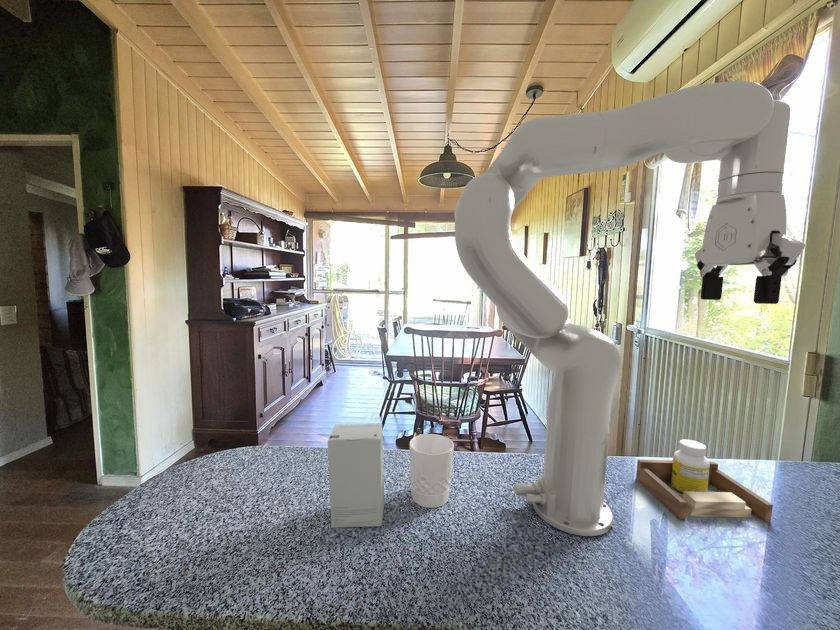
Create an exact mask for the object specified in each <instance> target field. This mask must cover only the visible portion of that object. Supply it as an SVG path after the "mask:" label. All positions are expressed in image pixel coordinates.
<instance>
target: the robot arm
mask: <svg viewBox="0 0 840 630" xmlns="http://www.w3.org/2000/svg"><path fill="white" fill-rule="evenodd" d="M791 119H792V108H791V106H790V104H789V103H788V102H786V101H784V100H779V99H778V100H776V99H774V97H773V95H772V93H771V92H770V91H769V89H767V88H766V87H765V86H763V85H762V84H760V83H758V82H754V81H748V80H731V81H730V80H728V81H722V82H711V83H705V84H698V85H693V86H689V87H685V88H682V89H678V90H674V91H672V92H671V91H670V92H668V93H665V94H661V95H658V96H655V97H652V98H649V99H644V100H641V101H637V102H634V103H632V104H628V105H625V106H623V107H620V108H615V109H608V110H600V111H599V110H597V111H593V112H590V111H589V112H582V113H581V112H580V113H571V114H561V115H560V114H559V115H552V116H543V117H537V118H531V119H529V120H526V121H525V122H523V123H521V124H520V125H519V126H518V127H517V128H516V129H515V130H514V131H513V132H512V134H511V136H510V137H509V139H508V140H507V142H506V143H505V145H504V147H503V148H502V150H501V151H500V153H499V154H498V155H497V157H496V158H495V159H494V161H493V162H492V163H491V164H490V165H489V167H488V168H487V169H486V170H485V171H484V173H481V174H479V175H476V176H475V177H473V178H471V180H470V181H468V182H467V184H465V186H464V187H463V189H462V191H461V193H460V194H459V198H458V200H457V202H456V205H455V208H454V238H455V239H454V241H455V247H456V251H457V254H458V257H459V260H460V263H461V264H462V267H463V268H464V270H465V271H466V273H467V274H468V276H469V277H470V279H472V281H473V282H474V284H476V286H477V287H478V288H479V289H480V290H481V291H482V292H483V293H484V294H485V296H486V297H487V298H488V299H489V301H491V302H492V303H493V305H494V306H496V313H497V316H498V319H499V320H500V322H501V323H502V324H503V325H504V326H505V328H507V330H508V331H509V332H510V333H511V334H512V335H513V337H515V338H516V339H517V340H518V341H519V343H521V344H522V345H523V346H524V347H525V348H526V350H528V351H529V353H531V354H532V356H534V357H535V359H537V360H538V362H540V363H541V364H542V365H543V366H544V367H545V368H547V369H548V370H550V371H551V372H552V373H553V374H554V375H553V376H554V377H553V381H552V385H551V389H550V392H549V396H548V400H547V401H548V402H547V409H546V410H547V411H546V427H545V428H546V431H545V443H544V444H545V445H544V447H545V448H544V461H543V462H544V463H543V475H537V481H533V482H532V483H520V482H518V483H516V482H515V483H514V484H513V485H514V487H513V489H514V490H513V491H514V494H515V496H519V497H520V496H521V497H523V496H524V497H525V502H526V504H532V507H533V509H534V511H535V513H536V514H537V515H538V516H539V517H540V518H541V519H542V520H543V521H544V522H546V523H547V524H549V525H550V526H552V527H554V528H555V529H557V530H559V531H562V532H565V533H567V534H571V535H575V536H582V537H596V536H601V535H603V534H606V533H607V532H609V531H610V530H611V528H612V526H613V523H614V516H613V512H612V510H611V508H610V507H609V506H608V504H607V503H606V502H605V501H604V496H605V485H606V474H607V460H608V452H609V451H608V450H609V449H608V447H609V439H610V438H609V437H610V424H611V413H612V405H613V401H614V395H615V390H616V387H617V385H618V381H619V378H620V373H621V368H622V359H621V354H620V351H619V349H618V347H617V345H616V344H615V343H614V341H613V340H612V339H611V338H610V337H609V336H607V335H606V334H604V333H602V332H601V331H598V330H596V329H593V328H590V327H586V326H583V325H579V324H576V323H574V322H572V321H571V320H570V319H569V307H568V303H567V301H566V299H565V298H564V296H563V294H561V292H560V291H559V290H558V289H557V288H556V287H555V286H554V285H553V284H552V283H551V282H550V281H549V280H548V279H547V278H546V277H545V276H544V275H543V274H542V273H541V272H540V271H539V270H538V269H537V268H536V267H535V266H534V265H533V264H532V262H530V261H529V260H528V258H527V257H526V256H525V254H524V253H523V252H522V251H521V250H520V249H519V247H518V246H517V244H516V243H515V241H514V238H513V235H512V228H511V224H512V223H511V221H512V215H513V213H514V210H515V209H516V207H518V206H519V204H520V203H521V202H522V201H523V200H524V199H525V198H526V196H527V195H528V193H530V191H531V190H532V189H533V188H534V187H535V186H536V184H538V183H539V182H540V181H541V180H542V179H544V178H550V177H551V178H552V177H561V176H569V175H570V176H571V175H578V174H579V175H580V174H589V173H599V172H608V171H613V170H616V169H621V168H624V167H627V166H630V165H632V164H636V163H638V162H640V161H643V160H645V159H648V158H650V157H654V156H655V155H658V154H661V153H663V154H664V155H665V157H666V158H667V159H669V160H670V161H672V162H675V163H679V164H695V163H696V164H697V163H702V162H710V161H719V170H718V178H717V179H718V180H717V189H716V195H715V198H716V199H715V204H713V205H712V206H711V209H710V211H709V215H708V218H707V221H706V225H705V230H704V235H703V239H702V240H703V241H702V247H701V248H699V249H698V250H697V251H695V253H694V257H695V261H696V267H697V269H698V270H699V276H700V277H702V279H701V280H702V281H701V289H700V290H701V291H700V299H701V300H706V301H709V300H710V301H711V300H712V301H720V300H721V299H722V296H723V295H722V293H723V287H724V276H721V274H723V273H724V271H725V270H726V269H727V267H728V266H748V265H749V266H750V265H751V266H752V265H754V266H755V267H756V268H757V270H758V271H759V273H760V275H757V276H756V278H755V282H754V283H755V285H754V294H753V303H755V304H761V305H762V304H766V305H768V304H769V305H777V304H779V301H780V294H781V286H782V280H783V279H782V278H783V277H786V276H787V275H788V271H789V270H790V269H791V268H793V266H794V265H796V264H797V261H798V258H799V257H800V255H801V254H802V252H803V251H804V249H805V247H806V244H805V243H804V242H802V241H800V240H798V239H795V238H792V237H791V236H788V235H787V206H786V199H785V195H784V194H782V193H783V184H784V177H785V169H786V161H787V150H788V146H789V145H788V143H789V137H790V127H791Z"/></svg>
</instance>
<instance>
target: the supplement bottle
mask: <svg viewBox="0 0 840 630" xmlns="http://www.w3.org/2000/svg"><path fill="white" fill-rule="evenodd" d="M678 444H679V445H678V450H676V451H675V452H673V457H672V458H673V467H672V479H671V483H670V488H671V489H672V490H673V491H674V492H675V493H677V494H678V495H679V496H680V497H683V491H693V492H708V489H709V488H708V486H709V484H708V478H709V467H710V462H709V461H710V460H709V458H707V457H706V454H707V446H706V445H705V444H703V443H702V442H700V441H696V440H694V439H693V440H692V439H684V438H683V439H679V443H678Z"/></svg>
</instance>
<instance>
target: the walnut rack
mask: <svg viewBox="0 0 840 630" xmlns="http://www.w3.org/2000/svg"><path fill="white" fill-rule="evenodd" d="M709 462H710V467H709V478H708V485H711V486H712V487H714V488H715V489H717V490H718V491H719V492H731V493H733V494H734V495H736V496H737V497H739V498H740V499H742V500H743V501H745V502H746V506H748V507H749V508H751V509H752V510H751V515H753V516H755V518H758V520H760V521H761V522H763V523H765V524H766V523H768V524H771V523H772V514H773V507H774V505H773V503H771V502H769V501H767V500H766V499H765V498H764V497H762V496H760V495H758V494H757V493H755V492H754V491H752V490H751V489H749V488H747V487H746V486H744V485H743V484H741V483H740V482H738V481H737V480H736V479H734V478H733V477H731V476H729V475H728V474H726V473H725V472H723V471H721V470H720V469H718V468H719V463H717V462H716V461H710V460H709ZM636 464H637V465H636V473H635V474H636V476H635V480H636V481H637V482H638V483H639V484H640V485H641V486H642V487H643V488H645V490H646V491H648V493H650V494H651V495H652V496H653V497H654V498H656V500H657V501H658V502H659V503H660V504H661V505H662V506H664V508H666V509H667V510H668V511H669V512H670V513H671V514H672V515H673V516H674V517H675V518H676V519H677V520H678V521H686V518H687V516H686V508H687V502H686V501H685V500H684V499H683V498H681V497H682V496H681V495H679V494H677V493H675V492H674V491H673V490H672V488H671V486H669V485H667V484H671V479H672V467H673V460H672V459H671V460H669V459H668V460H667V459H637V463H636Z"/></svg>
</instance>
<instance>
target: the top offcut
mask: <svg viewBox="0 0 840 630" xmlns="http://www.w3.org/2000/svg"><path fill="white" fill-rule="evenodd" d="M682 497H683V499H684V500H685V501H687V502H688V503H689V504H690V505H691V506H692V507H694V508H695V509H734V510H745V506H746V502H745V501H743V500H742V499H740V498H739V497H737V496H736V495H734V494H733V493H731V492H721V491H707V492H693V491H683V496H682Z"/></svg>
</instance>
